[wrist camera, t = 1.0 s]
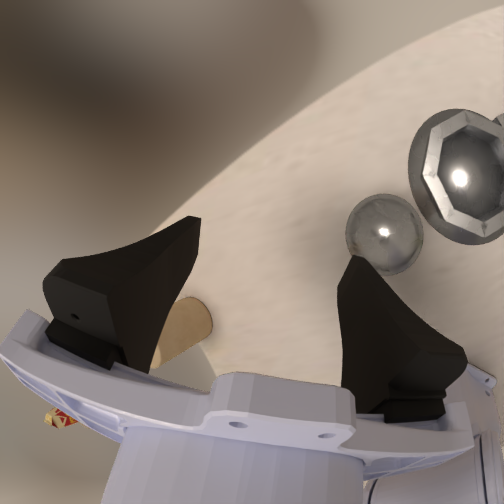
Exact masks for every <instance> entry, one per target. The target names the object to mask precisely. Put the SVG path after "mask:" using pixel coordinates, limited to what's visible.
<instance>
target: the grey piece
mask: <svg viewBox="0 0 504 504" xmlns="http://www.w3.org/2000/svg"><path fill="white" fill-rule="evenodd" d="M408 175H409V182H410V187H411V191H412V194H413V197H414V199H415V202H416V204H417V206H418V208H419V209H420V211H421V213H422V214H423V216H424V217H425V219H426V220H427V221H428V222H429V223H430V224H431V226H432V227H433V228H435V229H436V230H437V231H438V232H439V233H441V234H442V235H444V236H445V237H446V238H448V239H450V240H452V241H455V242H458V243H461V244H466V245H481V244H485V243H488V242H491V241H493V240H495V239H497V238H498V237H500V236H501V235H502V234H503V233H504V113H503V114H501V115H500V116H498V117H496V118H495V119H494V120H493V121H490V120H489V119H487V118H486V117H484V116H482V115H480V114H478V113H476V112H473V111H470V110H465V109H448V110H445V111H441V112H439V113H437V114H435V115H433V116H432V117H430V118H429V119H428V120H427V121H426V122H424V123H423V125H422V126H421V127H420V128H419V130H418V132H417V133H416V135H415V137H414V140H413V142H412V145H411V149H410V153H409V160H408Z"/></svg>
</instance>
